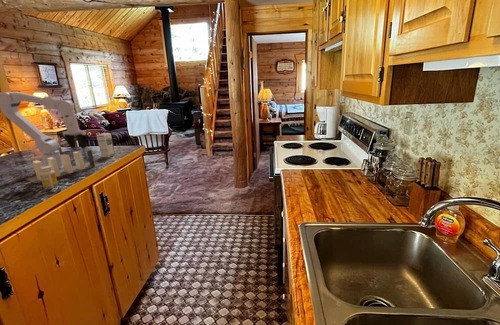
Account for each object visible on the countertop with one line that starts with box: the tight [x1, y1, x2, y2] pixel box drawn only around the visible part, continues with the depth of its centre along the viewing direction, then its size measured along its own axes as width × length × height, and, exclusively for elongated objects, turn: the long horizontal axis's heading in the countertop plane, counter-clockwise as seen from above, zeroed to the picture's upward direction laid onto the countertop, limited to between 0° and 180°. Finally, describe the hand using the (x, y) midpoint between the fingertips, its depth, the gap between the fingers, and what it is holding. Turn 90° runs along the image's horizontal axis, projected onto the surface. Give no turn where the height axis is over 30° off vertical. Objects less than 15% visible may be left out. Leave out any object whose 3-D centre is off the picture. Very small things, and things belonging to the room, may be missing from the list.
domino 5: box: [85, 148, 96, 168], centre depth 146 cm, size 2×5×9 cm, turn 35°
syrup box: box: [96, 132, 116, 158], centre depth 165 cm, size 6×6×14 cm
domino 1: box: [31, 159, 44, 180], centre depth 127 cm, size 2×5×9 cm, turn 57°
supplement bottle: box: [40, 165, 59, 190], centre depth 118 cm, size 5×5×10 cm
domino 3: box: [60, 153, 74, 174], centre depth 137 cm, size 2×5×9 cm, turn 57°
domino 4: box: [72, 151, 86, 171], centre depth 141 cm, size 2×5×9 cm, turn 57°
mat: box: [25, 161, 105, 184], centre depth 140 cm, size 12×33×1 cm, turn 147°
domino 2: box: [47, 157, 62, 178], centre depth 132 cm, size 2×5×9 cm, turn 57°
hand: (78, 147), depth 146 cm, fingers open, 7 cm apart
